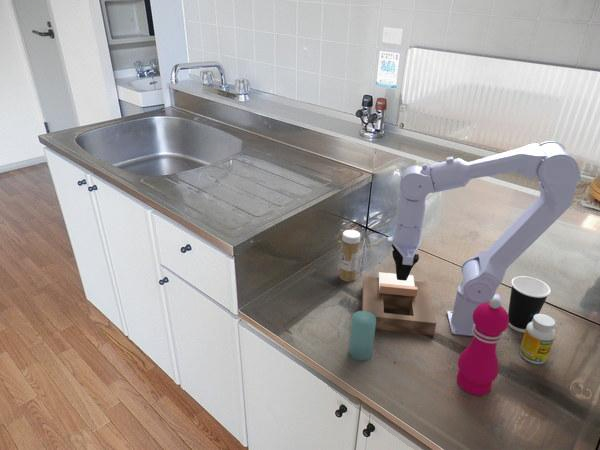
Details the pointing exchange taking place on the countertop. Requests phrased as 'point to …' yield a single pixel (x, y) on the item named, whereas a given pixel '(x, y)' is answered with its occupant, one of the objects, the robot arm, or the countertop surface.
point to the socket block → (400, 308)
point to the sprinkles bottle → (349, 255)
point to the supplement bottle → (538, 339)
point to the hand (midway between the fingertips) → (401, 275)
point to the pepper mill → (482, 349)
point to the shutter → (396, 285)
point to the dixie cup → (526, 301)
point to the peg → (362, 335)
